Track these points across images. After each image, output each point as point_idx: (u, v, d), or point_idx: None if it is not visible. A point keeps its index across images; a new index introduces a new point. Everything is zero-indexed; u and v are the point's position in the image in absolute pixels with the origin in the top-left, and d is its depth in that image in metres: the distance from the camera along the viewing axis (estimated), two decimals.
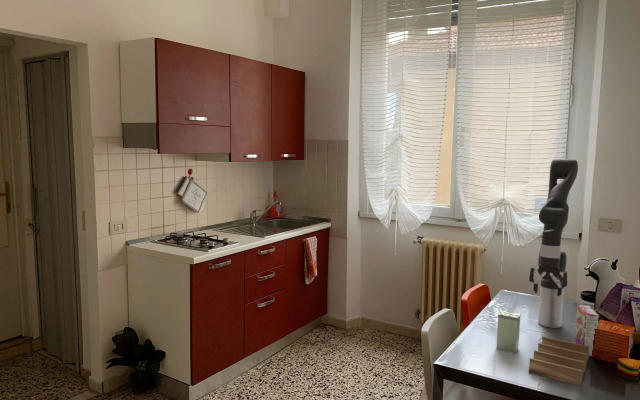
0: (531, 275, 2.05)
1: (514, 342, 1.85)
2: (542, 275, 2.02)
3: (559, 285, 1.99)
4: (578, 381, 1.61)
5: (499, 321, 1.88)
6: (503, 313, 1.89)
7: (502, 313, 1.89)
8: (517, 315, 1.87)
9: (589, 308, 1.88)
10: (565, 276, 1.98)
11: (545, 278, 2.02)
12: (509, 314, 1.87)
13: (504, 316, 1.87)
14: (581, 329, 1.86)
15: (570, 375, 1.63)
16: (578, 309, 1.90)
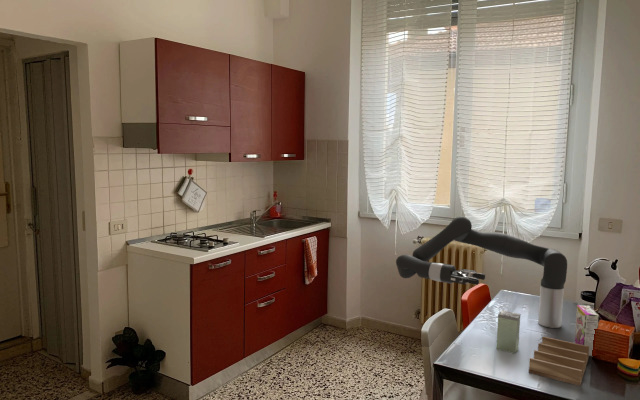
0: None
1: (514, 342, 1.85)
2: None
3: None
4: (578, 381, 1.61)
5: (499, 321, 1.88)
6: (503, 313, 1.89)
7: (502, 313, 1.89)
8: (517, 315, 1.87)
9: (589, 308, 1.88)
10: None
11: None
12: (509, 314, 1.87)
13: (504, 316, 1.87)
14: (581, 329, 1.86)
15: (570, 375, 1.63)
16: (578, 309, 1.90)
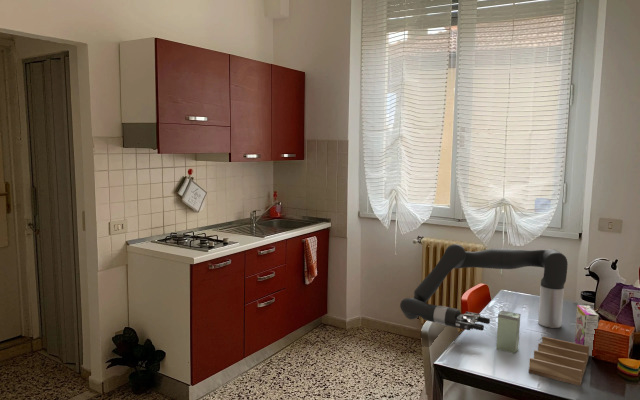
0: None
1: (514, 342, 1.85)
2: None
3: None
4: (578, 381, 1.61)
5: (499, 321, 1.88)
6: (503, 313, 1.89)
7: (502, 313, 1.89)
8: (517, 315, 1.87)
9: (589, 308, 1.88)
10: None
11: None
12: (509, 314, 1.87)
13: (504, 316, 1.87)
14: (581, 329, 1.86)
15: (570, 375, 1.63)
16: (578, 309, 1.90)
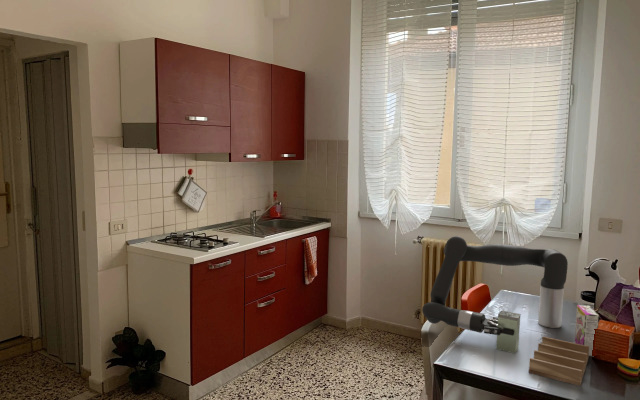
0: None
1: (514, 342, 1.85)
2: None
3: None
4: (578, 381, 1.61)
5: (499, 321, 1.88)
6: (503, 313, 1.89)
7: (502, 313, 1.89)
8: (517, 315, 1.87)
9: (589, 308, 1.88)
10: None
11: None
12: (509, 314, 1.87)
13: (504, 316, 1.87)
14: (581, 329, 1.86)
15: (570, 375, 1.63)
16: (578, 309, 1.90)
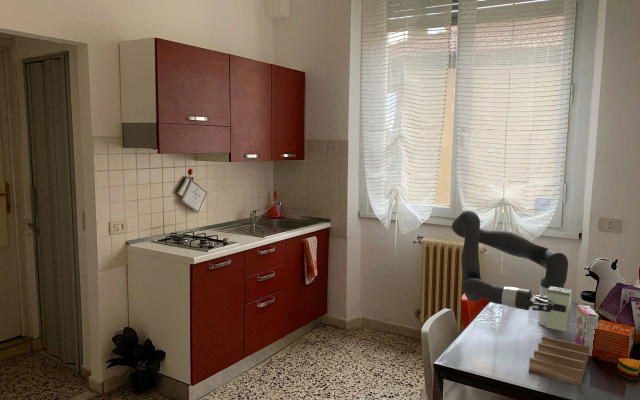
0: None
1: (565, 319, 1.71)
2: None
3: None
4: (578, 381, 1.61)
5: (549, 297, 1.73)
6: (553, 288, 1.75)
7: (552, 288, 1.74)
8: (568, 290, 1.72)
9: (589, 308, 1.88)
10: None
11: None
12: (559, 289, 1.73)
13: (554, 291, 1.72)
14: (581, 329, 1.86)
15: (570, 375, 1.63)
16: (578, 309, 1.90)
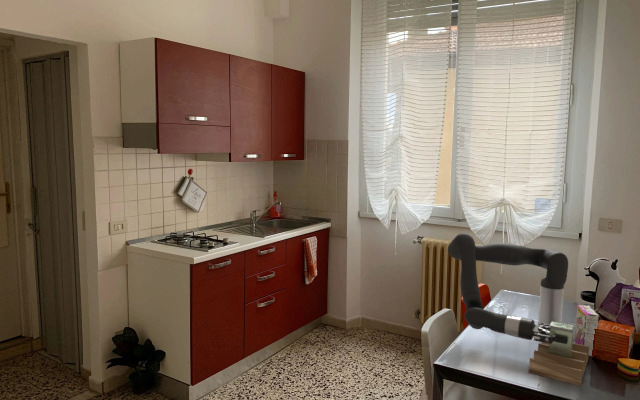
0: None
1: (568, 356, 1.71)
2: None
3: None
4: (578, 381, 1.61)
5: (551, 333, 1.74)
6: (555, 324, 1.75)
7: (554, 324, 1.75)
8: (571, 326, 1.73)
9: (589, 308, 1.88)
10: None
11: None
12: (562, 325, 1.73)
13: (557, 328, 1.73)
14: (581, 329, 1.86)
15: (570, 375, 1.63)
16: (578, 309, 1.90)
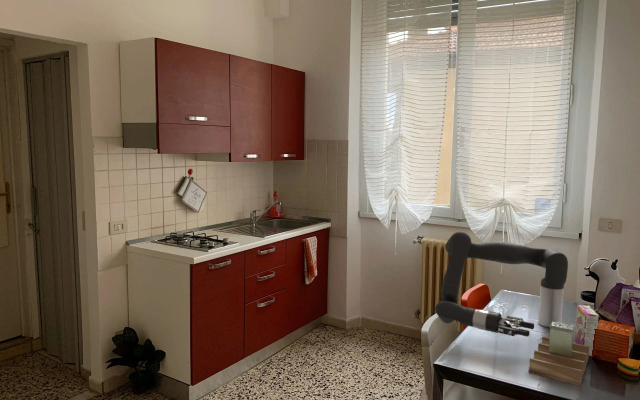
0: None
1: (568, 356, 1.71)
2: None
3: None
4: (578, 381, 1.61)
5: (551, 333, 1.74)
6: (555, 324, 1.75)
7: (554, 324, 1.75)
8: (571, 326, 1.73)
9: (589, 308, 1.88)
10: None
11: None
12: (562, 326, 1.73)
13: (557, 328, 1.73)
14: (581, 329, 1.86)
15: (570, 375, 1.63)
16: (578, 309, 1.90)
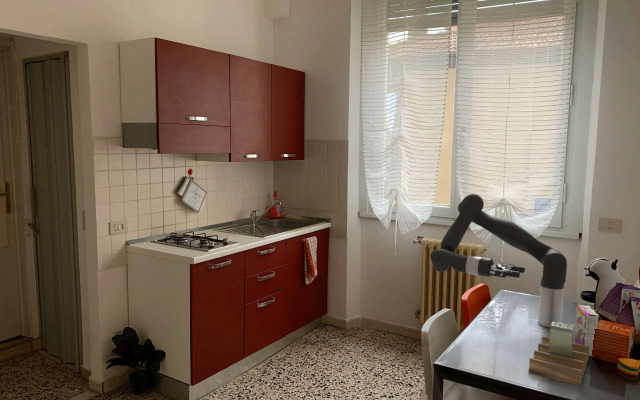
0: None
1: (568, 356, 1.71)
2: None
3: None
4: (578, 381, 1.61)
5: (551, 333, 1.74)
6: (555, 324, 1.75)
7: (554, 324, 1.75)
8: (571, 326, 1.73)
9: (589, 308, 1.88)
10: None
11: None
12: (562, 326, 1.73)
13: (557, 328, 1.73)
14: (581, 329, 1.86)
15: (570, 375, 1.63)
16: (578, 309, 1.90)
